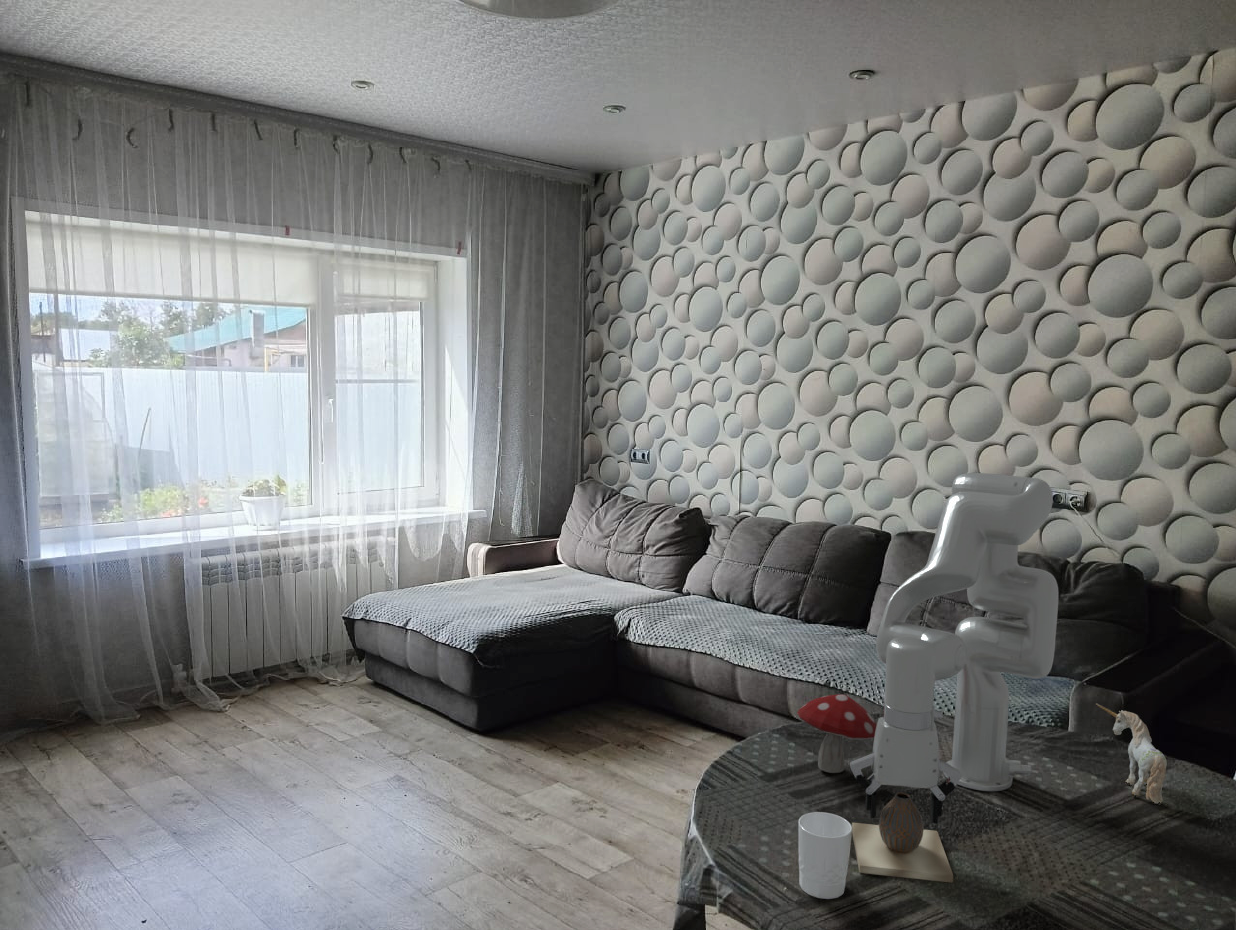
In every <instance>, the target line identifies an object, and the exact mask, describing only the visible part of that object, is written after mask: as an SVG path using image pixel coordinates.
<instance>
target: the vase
mask: <svg viewBox="0 0 1236 930" xmlns="http://www.w3.org/2000/svg"><path fill="white" fill-rule="evenodd" d="M878 825H879V831H880V835H881V838H882V840H883V842H884V843H885V844H886V846H887V847H888V848H889V849H891V850H893V851H895V852H899V853H909V852H911V851H913V850H914V849H916V848H917V847H918V846H919V844H920V842H921V840H922V837H923V830H925V829H924V828H925V827H924V820H923V816H922V814H921V812H920V810H919V809H918V807H917V806H916V804H915V803H914V801H913V800H912V796H911V795H910V794H908V793H905V792H896V793H895V794H894V796H893V797H892V798H891V800H890V801H888V802H887V803H886V805H885V806H884V807H883V808H882V810H881V813H880V816H879V821H878Z"/></svg>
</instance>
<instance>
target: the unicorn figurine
mask: <svg viewBox="0 0 1236 930" xmlns="http://www.w3.org/2000/svg"><path fill="white" fill-rule="evenodd" d="M1095 705H1096V706H1097V707H1098V708H1100V709H1101V710H1103V711H1105V712H1106V713H1108V714H1109V715H1111V716H1112V717H1114V718H1115V723H1114V724H1113V728H1112V732H1113V733H1114V735H1116V736H1118V735H1119V736H1121V735H1122V731H1124V730H1125V729H1127V728H1129V729H1130V730H1131V733H1132V739H1131V741H1130V743H1129V744H1128V749H1127V752H1128V756H1129V762H1130V763H1129V775H1128V778H1127V779H1126V780H1125V782H1127V783H1130V784H1129V785H1130V786H1131V785H1134V786H1133V789H1132V791H1131V793H1132V794H1134V795H1139V796H1140V792H1141V790H1142V787H1141V786H1142V785H1143V784H1144V782H1147V785H1146V793H1145V794H1146V795H1145V798H1146V800H1147V801H1148V800H1149V799H1150V800H1151V801H1152V803H1153V802H1154V803H1153V804H1158V803H1159V802H1160V803H1161V802H1163V796H1162V789H1163V787H1164V786H1163V782H1164V780H1165V777H1166V771H1167V763H1168V760H1167V759H1166V756H1165V755H1164V754H1163V752H1162V751H1160V750H1159V749H1156V748H1155V746H1154V745H1153V744H1152V742H1153V741H1152V737H1151V736H1150V732H1149V731H1150V730H1149V729H1148V726H1147V724H1145V723H1144V721H1143V720H1142V719H1141V718H1140V716H1139V715H1138V714H1136V713H1134V712H1130V711H1127V710H1122V709H1121V711H1120V710H1119V711H1118V712H1119V713H1118V714H1117V713H1116V712H1113V711H1112V710H1110V709H1109V708H1106V707H1105V706H1102V705H1100V704H1099V703H1095ZM1136 762H1137V763H1136ZM1136 764H1138V780H1137V782H1136V779H1137V778H1136V775H1135V771H1136V768H1137V766H1136ZM1149 772H1150V773H1149ZM1135 782H1136V783H1135ZM1132 794H1131V795H1132ZM1161 804H1162V803H1161Z"/></svg>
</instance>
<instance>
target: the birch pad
mask: <svg viewBox="0 0 1236 930" xmlns="http://www.w3.org/2000/svg"><path fill="white" fill-rule="evenodd" d="M851 826H852V834H851V835H852V840H853V844H854V850H855V855H856V860H857V866H858V871H859V873H860V874H867V875H868V874H870V875H878V876H886V877H896V878H906V879H916V880H925V881H935V882H945V883H953V882H954V874H953V871H952V868H951V865H950V862H949V860H948V858H947V855H946V852H945V849H944V845H943V843H942V841H941V837H940V835H939V832H938V831H937V830H933V829H924V830H923V837H922V840H921V842H920V844H919V846H918V847H917V848H916V849H914V850H913V851H911V852H909V853H899V852H895V851H893V850H891V849H889V848H888V847H887V846H886V844H885V843H884V842H883V840H882V838H881V835H880V831H879V824H871V823H861V822H851Z"/></svg>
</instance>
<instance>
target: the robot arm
mask: <svg viewBox="0 0 1236 930" xmlns="http://www.w3.org/2000/svg"><path fill="white" fill-rule="evenodd" d="M1053 501H1054V500H1053V491H1052V489H1051V486H1050V485H1049V483H1048V482H1046V481H1045V480H1043V479H1040V478H1035V477H1029V476H1015V475H1006V474H998V473H984V472H966V473H962V474H959V475H957V476H956V477H955V478H954V479H953V481H952V486H951V495H950V496H949V497H948V498H947V499H946V500H945V503H944V505H943V509H942V512H941V515H940V518H939V521H938V524H937V528H936V530H935V535H934V537H933V542H932V545H931V548H930V551H929V555H928V559H927V561H926V565H924V567H923V568H922V569H920V570H919V571H917V572H916V573H914V574H913V575H911V576H909V577H908V579H906V580H905V581H904V582H903V583H901V585H899V587H897V588H896V590H895V591H894V592H893V594H891V596H890V598H888V601H887V603H886V605H885V608H884V611H883V613H882V614H883V615H882V618H881V621H880V625H879V627H878V631H877V636H876V642H875V649H876V650H875V651H876V654H877V656H878V659H879V660H880V661H881V662H883V663H884V664H885V680H884V701H883V703H884V704H883V716H881V717H879V718H878V720H877V722H876V724H877V726H876V731H875V736H874V739H873V745H872V753H870V754H868V755H864V756H862V757H860V758H857V759H854V760H852V761H850V763H849V767H850V770H851V772H852V774H853V775H854V778H855V780H856V782H857V783H858V785H860V786H861V788H862V789H863V790H864V791H865V810H866V811H869V814H870V815H869V816H870V819H875V818H876V817H877V816H876V815H877V792H876V791H877V789H879V788H880V787H881V786H882V785H885V786H893V787H905V788H916V789H929V790H930V791H931V793H930V801H929V802H930V804H929V816H930V819H931V823H933V824H936V825H938V823H939V822H938V821H939V817H940V818H941V817H942V815H943V813H942V811H943V801H944V800H945V799H946V797H947V796H948V795H950V794H951V793H952V792H953V791H955V789H956V787H957V785H958V786H961V787H964V788H968V789H970V790H975V791H981V792H1000V791H1004V790H1007V789H1009V788H1011V786H1012V784H1013V776H1014V775H1015V774H1016V775H1021V776H1031V775H1032V766H1031V765H1029V764H1022V763H1021V760H1016V759H1015V760H1011V759H1009V758H1007V757H1006V751H1007V737H1008V724H1009V708H1010V691H1009V687H1008V685H1007V682H1006V681H1005V678H1004V677H1003V676H1002V673H1004V674H1009V675H1013V676H1019V677H1022V678H1023V677H1024V678H1028V679H1034V680H1035V679H1036V680H1037V679H1043V678H1045V677H1047V676H1048V675H1049V673H1051V670H1052V667H1053V664H1054V657H1055V648H1056V636H1057V635H1056V634H1057V626H1058V625H1057V624H1058V613H1059V612H1058V610H1059V586H1058V583H1057V580H1056V578H1055V575H1053V573H1051V572H1049V571H1048V570H1044V569H1041V568H1035V567H1028V566H1022V565H1020V564H1019V563H1018V557H1019V556H1018V553H1019V552H1018V551H1019V546H1020V545H1023V544H1025V543H1027V541H1029V540H1030V539H1031V538H1032V537H1033V536H1034V534H1035V533H1036V532H1037V531H1038V530H1039V529H1040V528H1041V527H1042V526H1043V525H1044V523H1045V522H1046V521H1047V520H1048V517H1049V516H1050V514H1051V511H1052V507H1053V503H1054V502H1053ZM963 590H966V591H967V596H966V597H967V601H968V603H969V605H971V606H972V607H973V608H975V609H977V610H980V611H984V612H987V613H992V614H993V613H994V614H999V615H1005V616H1009V617H1015V618H1021V619H1023V620H1024V621H1025V623H1026V624H1022V623H1017V622H1011V621H1008V620H1002V619H997V618H990V617H983V616H970V617H966V618H963V620H961V621H960V622H959V623H958V624H957V626H956V628H955V630H954V631H955V633H953V632H950V631H946V630H941V629H936V628H930V627H926V626H921V625H917V624H911V623H907V622H906V620H907V618H908V616H909V615H910V613H911V612H912V611H913V609H914V608H915V607H917V606H919V604H921V603H923V602H925V601H927V600H930V599H933V598H935V597H938V596H942V595H946V594H950V593H954V592H960V591H963ZM955 676H956V693H955V694H956V696H955V707H954V722H953V723H954V725H953V736H952V737H953V738H952V739H953V740H952V753H951V754H952V755H951V756H952V757H951V760H948V761H944V760H942V759H941V758H940V749H939V748H940V747H939V746H940V745H939V736H938V730H937V725H936V723H935V721H937V720H943V715H944V714H943V711H942V710H938V709H935V707H934V701H935V699H934V698H935V684H936V683H935V682H936V681H942V680H946V679H950V678H953V677H955ZM870 766H871V771H872V772H873V773H872V774H871V775H870V776H869V777H868V778H867V777H866V776H865V774H864V773H863V772H862V770H863V769H865V768H868V767H870ZM940 771H941V772H942V773H943V775H944V776H945V777H946V778H947V779H945V781H943V782H942V783H941V784H939V782H940Z"/></svg>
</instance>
